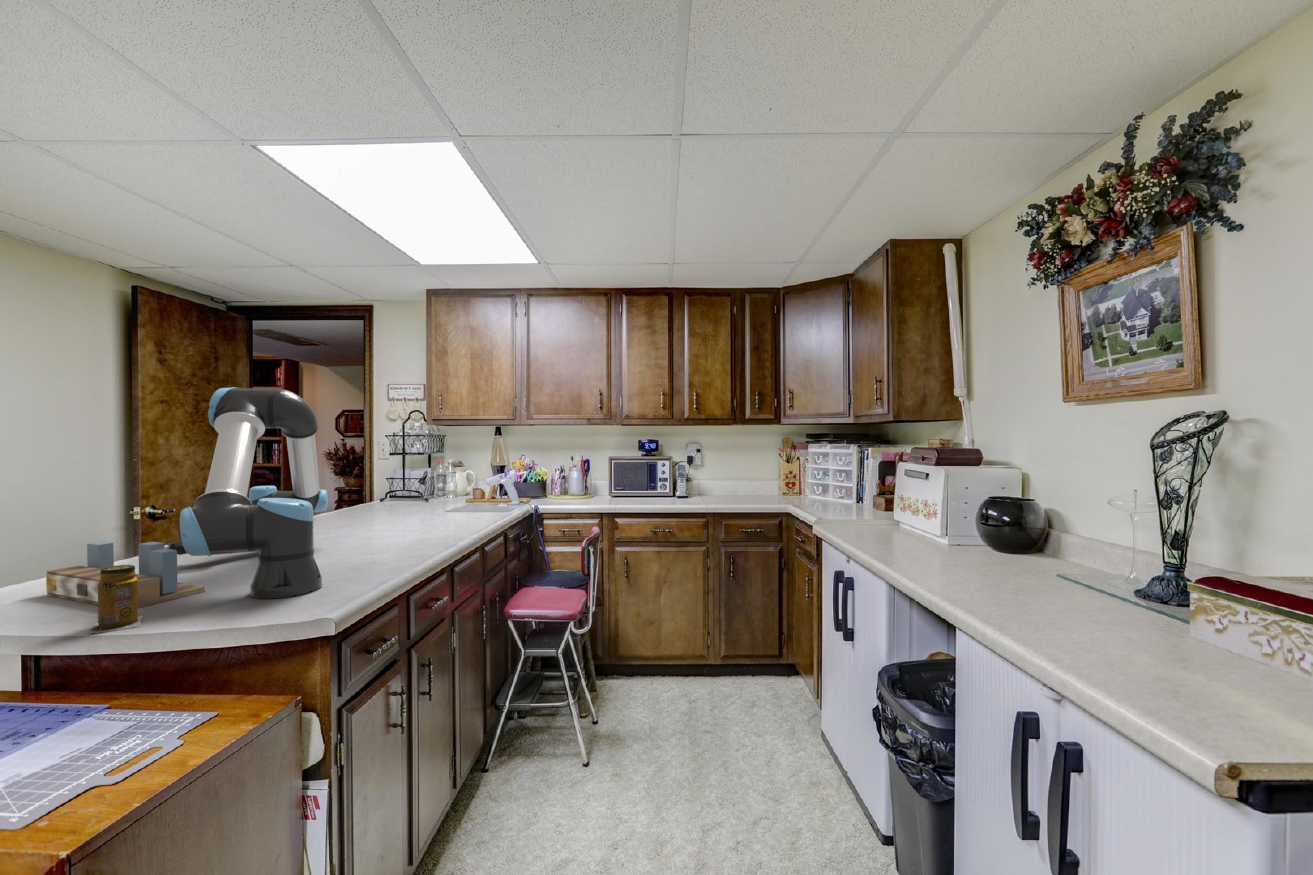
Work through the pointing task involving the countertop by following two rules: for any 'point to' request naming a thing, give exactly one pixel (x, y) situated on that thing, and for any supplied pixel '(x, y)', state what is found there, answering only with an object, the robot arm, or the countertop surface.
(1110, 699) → the countertop surface
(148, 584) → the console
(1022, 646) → the countertop surface
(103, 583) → the condiment
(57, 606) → the countertop surface
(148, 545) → the key middle
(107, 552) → the key
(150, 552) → the key
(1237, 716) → the countertop surface
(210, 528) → the robot arm
